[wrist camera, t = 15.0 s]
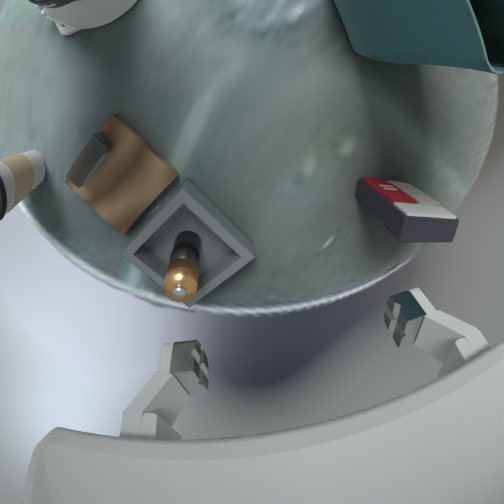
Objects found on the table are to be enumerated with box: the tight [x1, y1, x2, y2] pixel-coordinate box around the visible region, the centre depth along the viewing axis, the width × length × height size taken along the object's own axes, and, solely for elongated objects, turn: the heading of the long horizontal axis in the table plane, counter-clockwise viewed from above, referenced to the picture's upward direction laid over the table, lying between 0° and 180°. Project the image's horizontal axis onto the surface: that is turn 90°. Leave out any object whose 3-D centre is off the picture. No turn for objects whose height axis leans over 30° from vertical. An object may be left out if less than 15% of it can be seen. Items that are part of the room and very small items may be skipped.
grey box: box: [355, 178, 459, 242], centre depth 36 cm, size 11×4×15 cm, turn 88°
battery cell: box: [163, 230, 201, 302], centre depth 39 cm, size 4×4×13 cm
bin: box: [121, 179, 255, 307], centre depth 43 cm, size 15×15×5 cm
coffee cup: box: [0, 150, 46, 220], centre depth 28 cm, size 9×9×15 cm
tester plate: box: [65, 114, 178, 235], centre depth 36 cm, size 14×14×4 cm
